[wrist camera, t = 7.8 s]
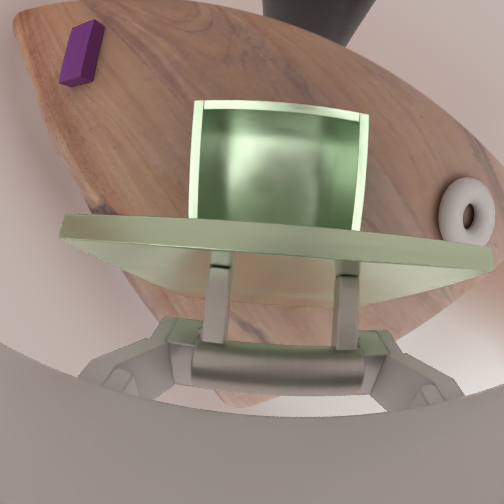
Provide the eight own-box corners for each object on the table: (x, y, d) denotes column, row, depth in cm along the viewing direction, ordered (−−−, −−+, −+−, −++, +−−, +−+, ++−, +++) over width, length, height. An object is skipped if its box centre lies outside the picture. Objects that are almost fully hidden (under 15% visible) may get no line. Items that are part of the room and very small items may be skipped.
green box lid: (63, 213, 7) (42, 364, 6) (492, 246, 6) (490, 388, 5) (187, 288, 23) (182, 342, 22) (349, 299, 22) (346, 353, 21)
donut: (489, 189, 27) (442, 164, 26) (505, 192, 23) (458, 165, 23) (473, 257, 29) (424, 242, 29) (487, 265, 26) (439, 250, 26)
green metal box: (215, 119, 27) (194, 100, 19) (341, 129, 27) (369, 114, 18) (209, 259, 32) (188, 290, 23) (328, 268, 31) (347, 302, 23)
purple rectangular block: (83, 34, 24) (72, 27, 21) (105, 26, 23) (94, 19, 21) (71, 87, 26) (58, 83, 23) (93, 81, 26) (80, 76, 23)
